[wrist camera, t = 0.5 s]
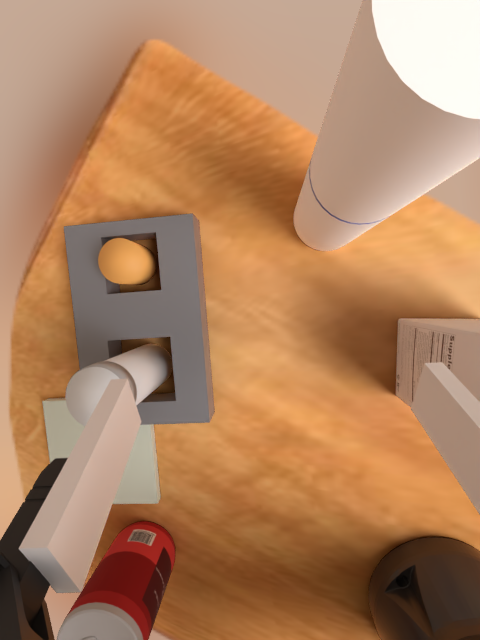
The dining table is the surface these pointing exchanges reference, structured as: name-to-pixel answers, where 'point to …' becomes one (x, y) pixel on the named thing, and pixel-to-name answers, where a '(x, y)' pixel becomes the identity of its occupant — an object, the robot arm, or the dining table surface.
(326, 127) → the cylindrical container
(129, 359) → the cartridge
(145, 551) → the canned food
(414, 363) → the supplement box
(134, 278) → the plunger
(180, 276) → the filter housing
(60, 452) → the mat
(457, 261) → the dining table surface
